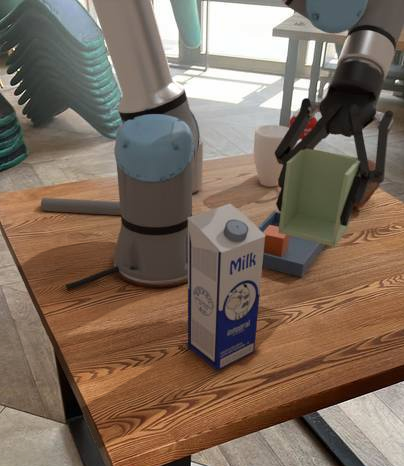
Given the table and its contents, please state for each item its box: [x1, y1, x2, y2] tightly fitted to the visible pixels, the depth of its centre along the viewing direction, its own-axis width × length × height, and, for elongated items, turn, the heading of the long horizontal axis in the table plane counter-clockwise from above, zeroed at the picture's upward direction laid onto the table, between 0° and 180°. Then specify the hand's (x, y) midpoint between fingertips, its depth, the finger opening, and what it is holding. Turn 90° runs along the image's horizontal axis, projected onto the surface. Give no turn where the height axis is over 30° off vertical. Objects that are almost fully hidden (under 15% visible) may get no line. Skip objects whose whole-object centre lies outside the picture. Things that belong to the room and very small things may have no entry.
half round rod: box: [40, 197, 121, 216], centre depth 116 cm, size 4×20×2 cm, turn 85°
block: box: [263, 225, 290, 257], centre depth 101 cm, size 4×4×4 cm
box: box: [278, 148, 360, 248], centre depth 85 cm, size 7×9×11 cm
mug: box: [253, 124, 301, 188], centre depth 125 cm, size 12×8×11 cm
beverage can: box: [288, 110, 318, 150], centre depth 133 cm, size 6×6×12 cm
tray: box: [256, 210, 327, 278], centre depth 104 cm, size 17×12×2 cm
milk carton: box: [187, 203, 266, 372], centre depth 75 cm, size 7×7×20 cm
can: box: [192, 132, 204, 194], centre depth 121 cm, size 8×8×12 cm
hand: (311, 215), depth 84 cm, fingers closed on box, 9 cm apart
